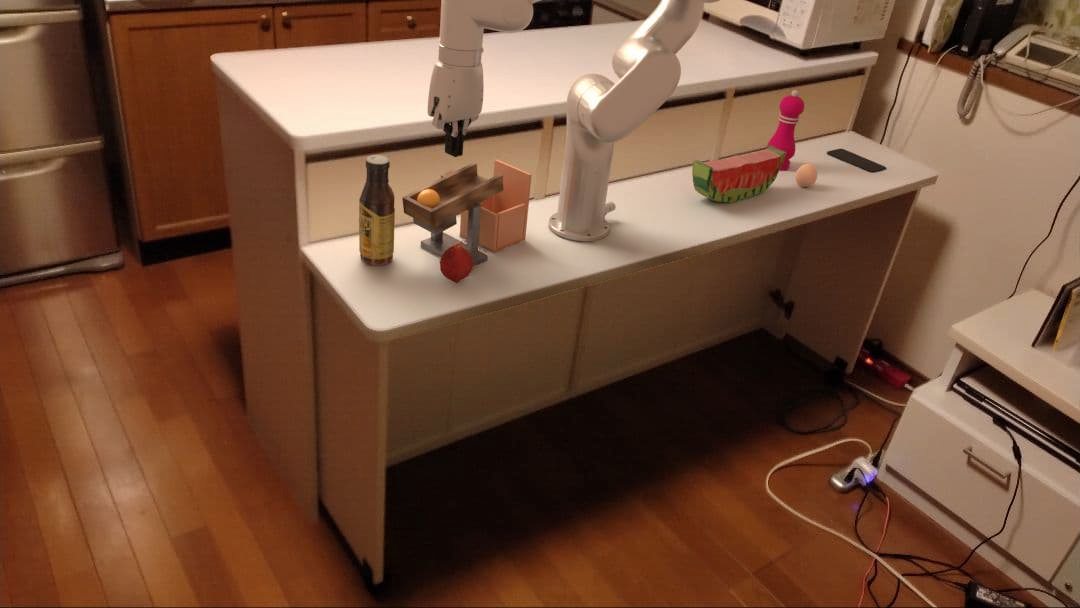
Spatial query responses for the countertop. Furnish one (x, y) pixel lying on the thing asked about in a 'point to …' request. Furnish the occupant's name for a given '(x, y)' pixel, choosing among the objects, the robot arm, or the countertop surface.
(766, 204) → the countertop surface
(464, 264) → the onion
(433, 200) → the ball
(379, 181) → the sauce bottle
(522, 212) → the cup
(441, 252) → the stand
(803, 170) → the egg
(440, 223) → the brown wooden tray
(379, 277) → the countertop surface
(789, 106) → the pepper mill
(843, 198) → the countertop surface
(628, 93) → the robot arm
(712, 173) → the fruit slice
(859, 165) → the phone
